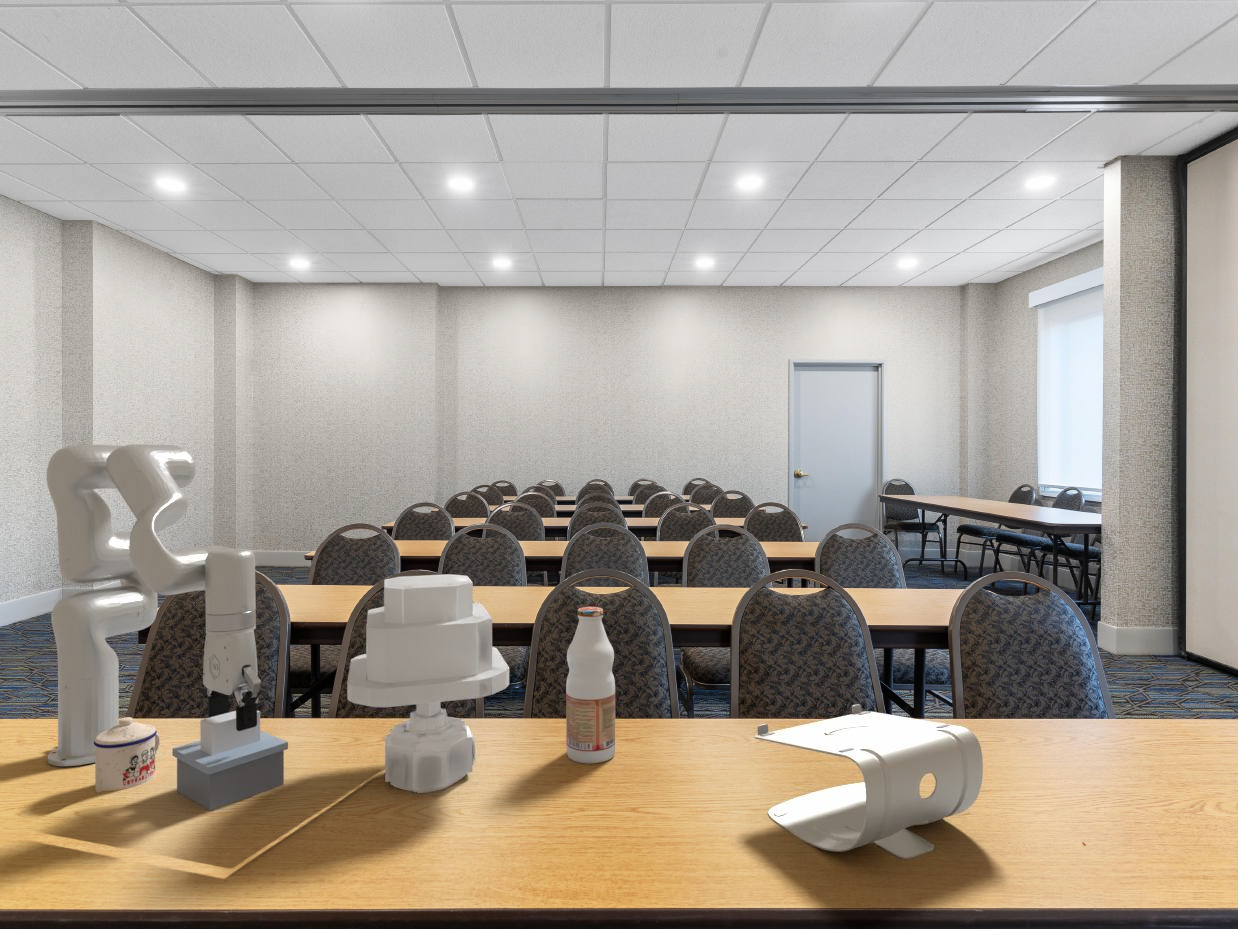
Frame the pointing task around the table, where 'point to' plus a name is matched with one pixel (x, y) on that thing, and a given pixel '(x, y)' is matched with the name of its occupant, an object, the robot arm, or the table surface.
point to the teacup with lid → (125, 755)
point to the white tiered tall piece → (427, 675)
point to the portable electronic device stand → (881, 780)
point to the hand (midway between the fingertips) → (232, 723)
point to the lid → (227, 745)
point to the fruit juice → (590, 691)
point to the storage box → (230, 781)
